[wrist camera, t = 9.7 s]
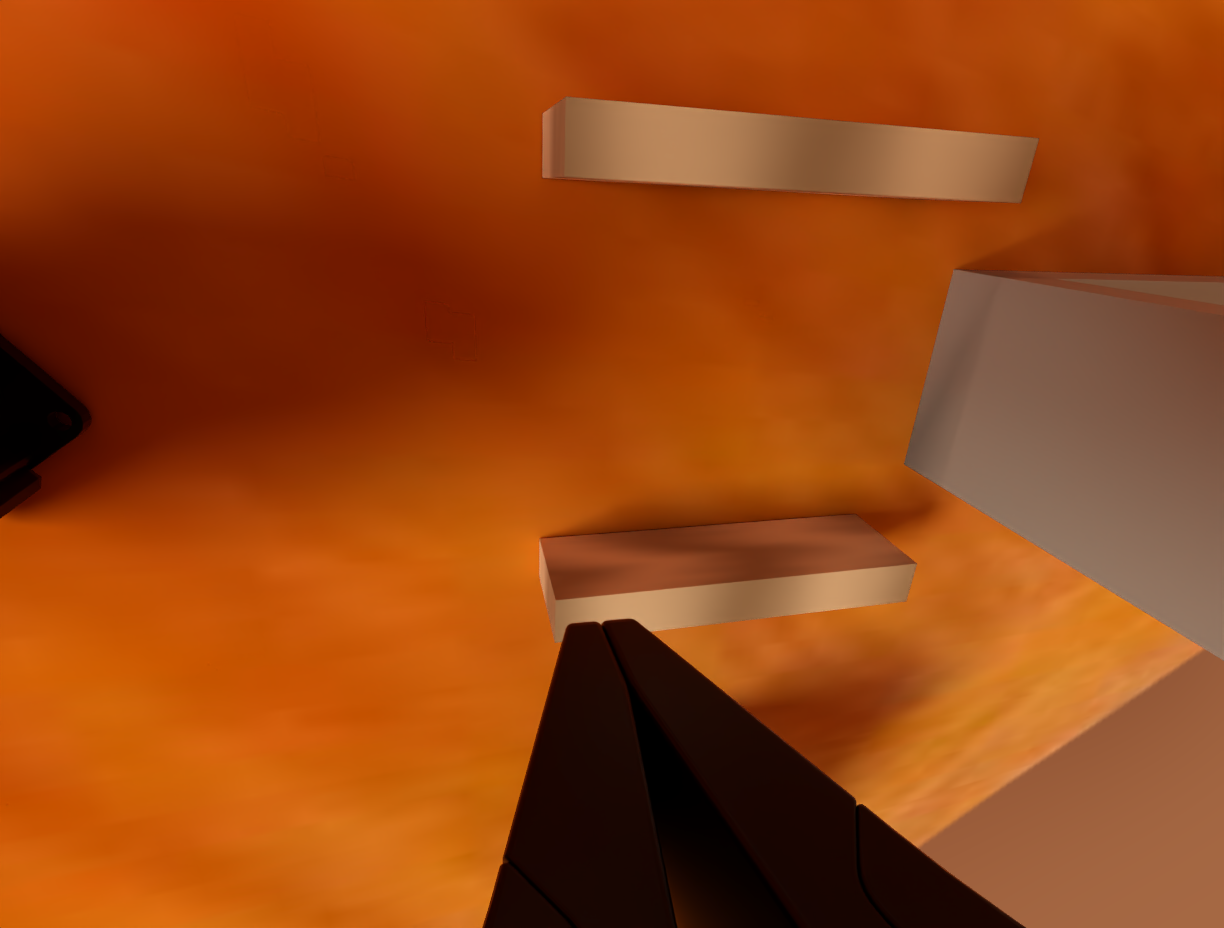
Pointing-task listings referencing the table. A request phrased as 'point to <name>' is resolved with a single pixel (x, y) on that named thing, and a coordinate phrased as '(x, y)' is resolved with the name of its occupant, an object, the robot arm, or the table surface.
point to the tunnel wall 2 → (778, 153)
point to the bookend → (1090, 427)
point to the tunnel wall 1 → (720, 572)
